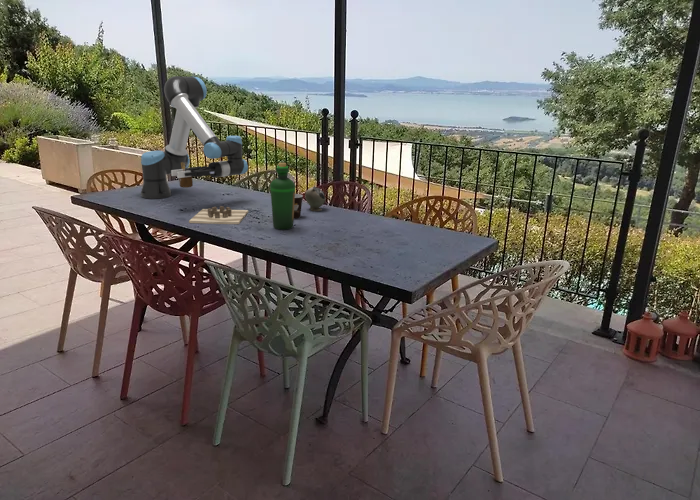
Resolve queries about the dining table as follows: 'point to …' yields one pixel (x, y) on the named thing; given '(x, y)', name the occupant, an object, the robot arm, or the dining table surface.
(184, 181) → the utensil holder
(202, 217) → the ring collar board
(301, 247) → the dining table surface
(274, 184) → the bottle
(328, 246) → the dining table surface
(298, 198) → the coffee mug
